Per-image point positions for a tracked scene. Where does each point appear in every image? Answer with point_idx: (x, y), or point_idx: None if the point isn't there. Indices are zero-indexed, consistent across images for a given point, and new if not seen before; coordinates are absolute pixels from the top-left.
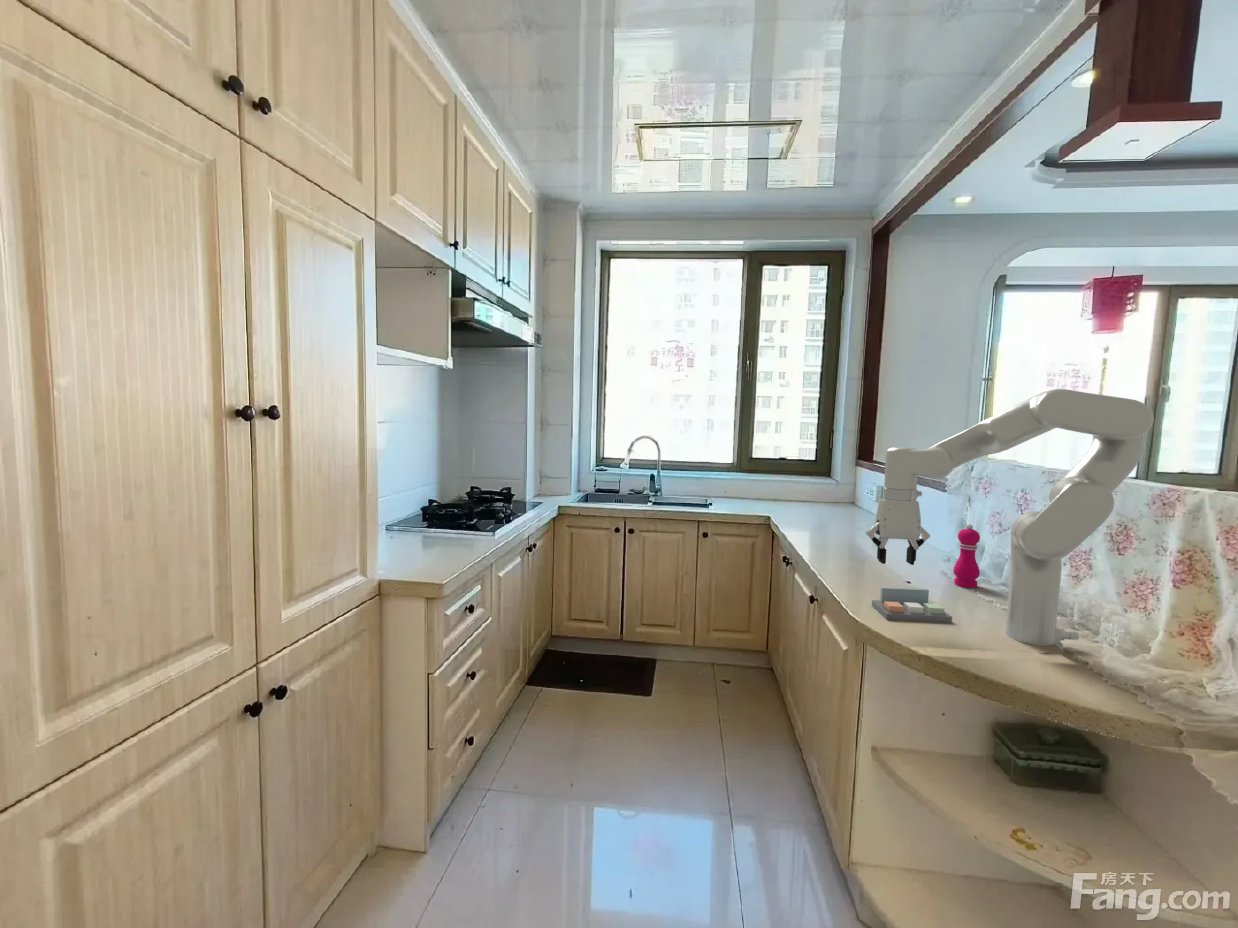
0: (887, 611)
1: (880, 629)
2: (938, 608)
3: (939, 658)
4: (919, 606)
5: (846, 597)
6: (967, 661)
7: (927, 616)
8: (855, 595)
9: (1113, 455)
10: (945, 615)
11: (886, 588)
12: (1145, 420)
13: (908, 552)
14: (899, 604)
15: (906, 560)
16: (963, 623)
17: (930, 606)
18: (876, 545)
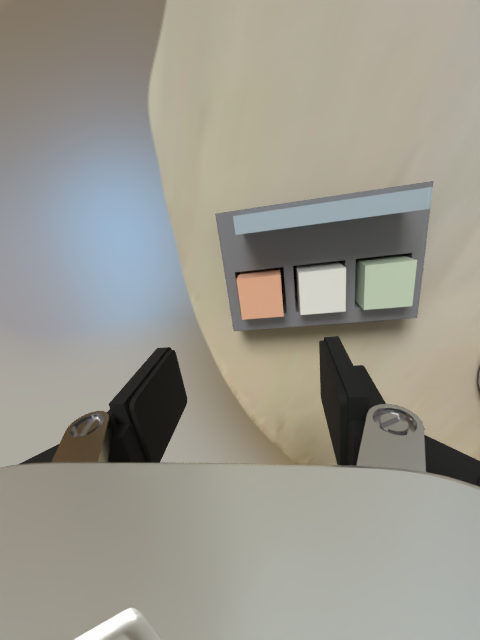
0: (240, 314)
1: (220, 348)
2: (392, 307)
3: (291, 452)
4: (335, 304)
5: (158, 74)
6: (335, 457)
7: (343, 321)
8: (192, 23)
9: None
10: (401, 311)
11: (250, 232)
12: None
13: (333, 403)
14: (277, 298)
15: (320, 344)
16: (465, 258)
17: (373, 296)
18: (83, 424)
